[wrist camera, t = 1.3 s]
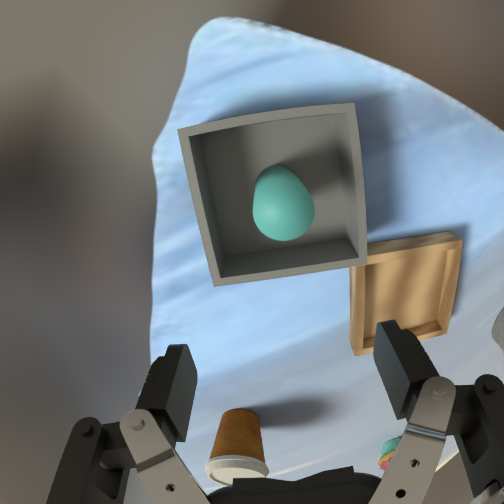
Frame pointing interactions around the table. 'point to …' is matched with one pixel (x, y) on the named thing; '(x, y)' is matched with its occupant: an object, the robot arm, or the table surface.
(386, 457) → the cupcake
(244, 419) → the disposable coffee cup
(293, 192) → the peg
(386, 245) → the tray
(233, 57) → the table surface
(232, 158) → the deep bin
